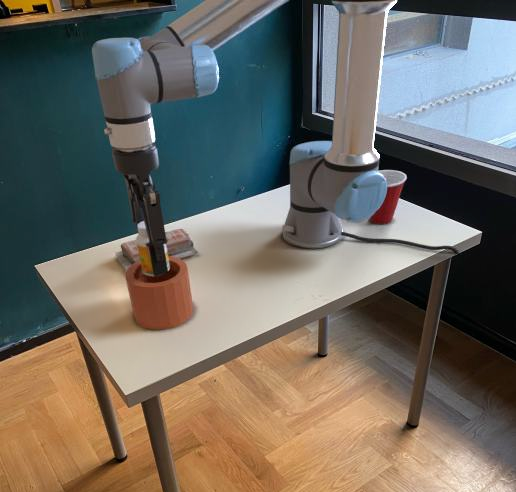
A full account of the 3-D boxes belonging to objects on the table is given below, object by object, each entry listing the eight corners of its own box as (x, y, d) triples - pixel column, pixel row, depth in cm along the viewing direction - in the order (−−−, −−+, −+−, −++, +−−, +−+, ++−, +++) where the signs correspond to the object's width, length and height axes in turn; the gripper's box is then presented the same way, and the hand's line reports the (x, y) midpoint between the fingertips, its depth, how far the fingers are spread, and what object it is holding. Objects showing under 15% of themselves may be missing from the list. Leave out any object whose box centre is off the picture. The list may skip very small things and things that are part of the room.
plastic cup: (355, 213, 143) (359, 170, 135) (393, 210, 143) (399, 167, 136) (365, 230, 134) (369, 185, 127) (405, 227, 135) (412, 182, 127)
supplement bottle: (139, 267, 102) (130, 221, 96) (166, 261, 104) (158, 216, 98) (146, 279, 98) (136, 232, 92) (173, 273, 100) (165, 226, 94)
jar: (198, 297, 111) (193, 256, 105) (186, 330, 102) (179, 287, 96) (144, 296, 113) (135, 255, 107) (127, 328, 103) (116, 286, 97)
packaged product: (180, 222, 131) (196, 237, 124) (182, 240, 134) (198, 255, 127) (111, 240, 124) (124, 257, 117) (115, 258, 127) (128, 275, 120)
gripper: (98, 136, 92) (124, 252, 106) (127, 164, 78) (152, 293, 93) (138, 129, 94) (158, 243, 108) (173, 155, 81) (191, 282, 95)
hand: (155, 266), depth 101 cm, fingers closed on supplement bottle, 5 cm apart
